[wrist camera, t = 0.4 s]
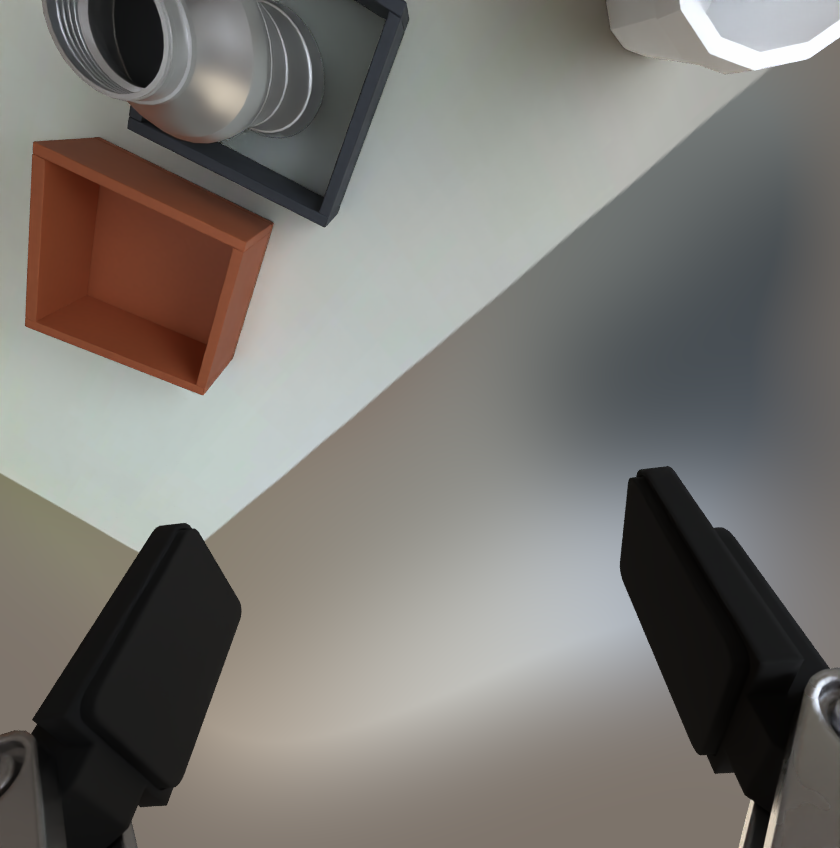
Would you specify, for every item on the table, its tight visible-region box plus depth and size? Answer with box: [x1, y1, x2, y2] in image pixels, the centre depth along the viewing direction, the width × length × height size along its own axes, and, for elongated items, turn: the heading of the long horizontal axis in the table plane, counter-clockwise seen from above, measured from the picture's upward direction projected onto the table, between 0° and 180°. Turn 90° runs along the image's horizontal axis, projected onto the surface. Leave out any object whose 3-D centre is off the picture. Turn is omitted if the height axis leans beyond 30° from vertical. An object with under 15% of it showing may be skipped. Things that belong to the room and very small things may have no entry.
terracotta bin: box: [25, 137, 274, 395], centre depth 34 cm, size 12×12×7 cm
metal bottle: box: [42, 0, 325, 144], centre depth 22 cm, size 6×7×20 cm
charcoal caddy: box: [128, 0, 409, 227], centre depth 29 cm, size 12×12×5 cm
